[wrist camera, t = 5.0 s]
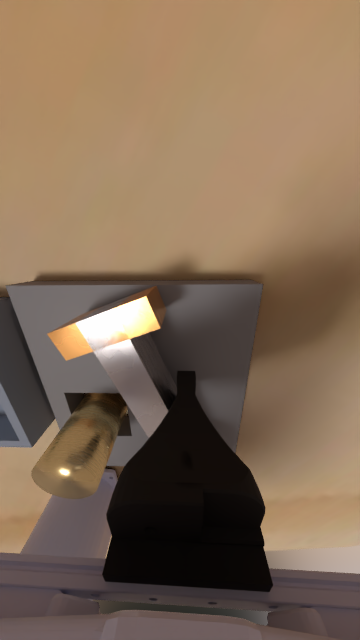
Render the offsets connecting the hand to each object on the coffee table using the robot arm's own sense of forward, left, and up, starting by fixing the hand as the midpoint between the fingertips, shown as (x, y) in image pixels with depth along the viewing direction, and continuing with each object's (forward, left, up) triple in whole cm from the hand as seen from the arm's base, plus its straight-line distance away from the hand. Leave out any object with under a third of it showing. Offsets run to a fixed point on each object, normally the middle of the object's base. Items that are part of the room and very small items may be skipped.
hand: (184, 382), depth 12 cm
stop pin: (-5, +7, -3) cm, 9 cm away
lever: (-2, +1, -1) cm, 3 cm away
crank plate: (-3, +3, -3) cm, 5 cm away
